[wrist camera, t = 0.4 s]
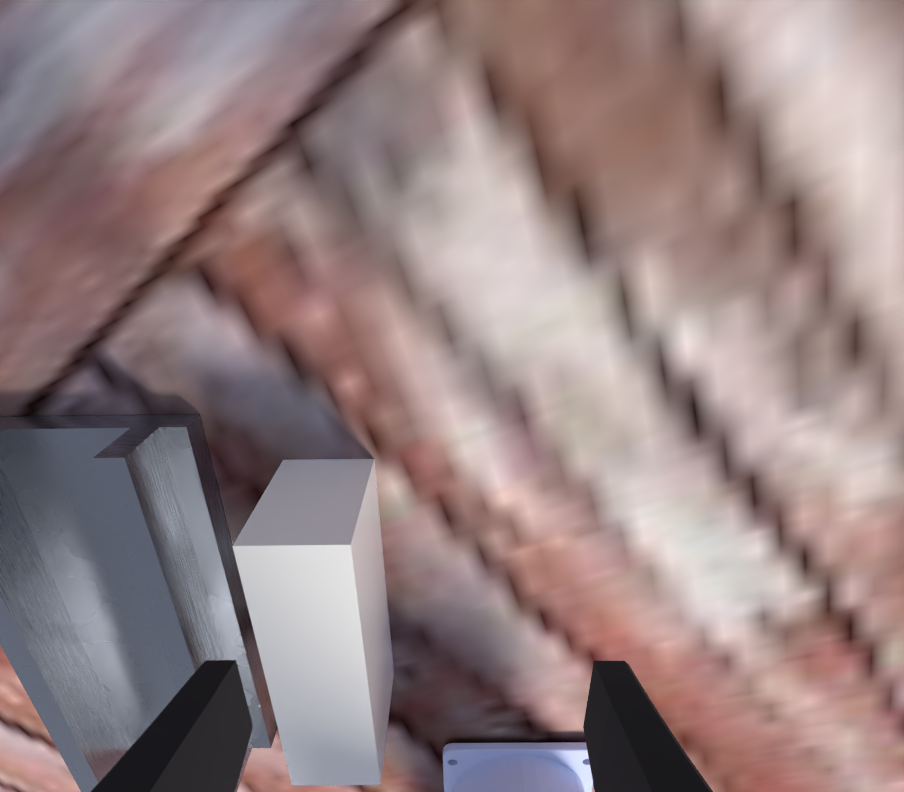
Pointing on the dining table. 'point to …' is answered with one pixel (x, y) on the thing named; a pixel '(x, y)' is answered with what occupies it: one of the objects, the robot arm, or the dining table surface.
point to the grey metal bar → (322, 617)
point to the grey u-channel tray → (117, 579)
